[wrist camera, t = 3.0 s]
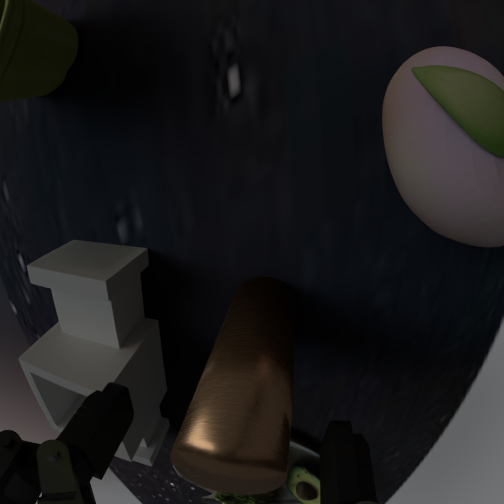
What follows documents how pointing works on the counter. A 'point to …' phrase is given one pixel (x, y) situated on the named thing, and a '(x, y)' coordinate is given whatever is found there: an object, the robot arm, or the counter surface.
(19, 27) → the plant pot
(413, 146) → the decorative fruit
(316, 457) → the salad plate
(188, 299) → the counter surface
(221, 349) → the brown rounded rod
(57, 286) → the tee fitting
